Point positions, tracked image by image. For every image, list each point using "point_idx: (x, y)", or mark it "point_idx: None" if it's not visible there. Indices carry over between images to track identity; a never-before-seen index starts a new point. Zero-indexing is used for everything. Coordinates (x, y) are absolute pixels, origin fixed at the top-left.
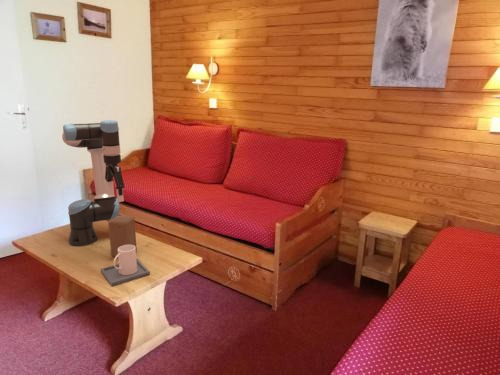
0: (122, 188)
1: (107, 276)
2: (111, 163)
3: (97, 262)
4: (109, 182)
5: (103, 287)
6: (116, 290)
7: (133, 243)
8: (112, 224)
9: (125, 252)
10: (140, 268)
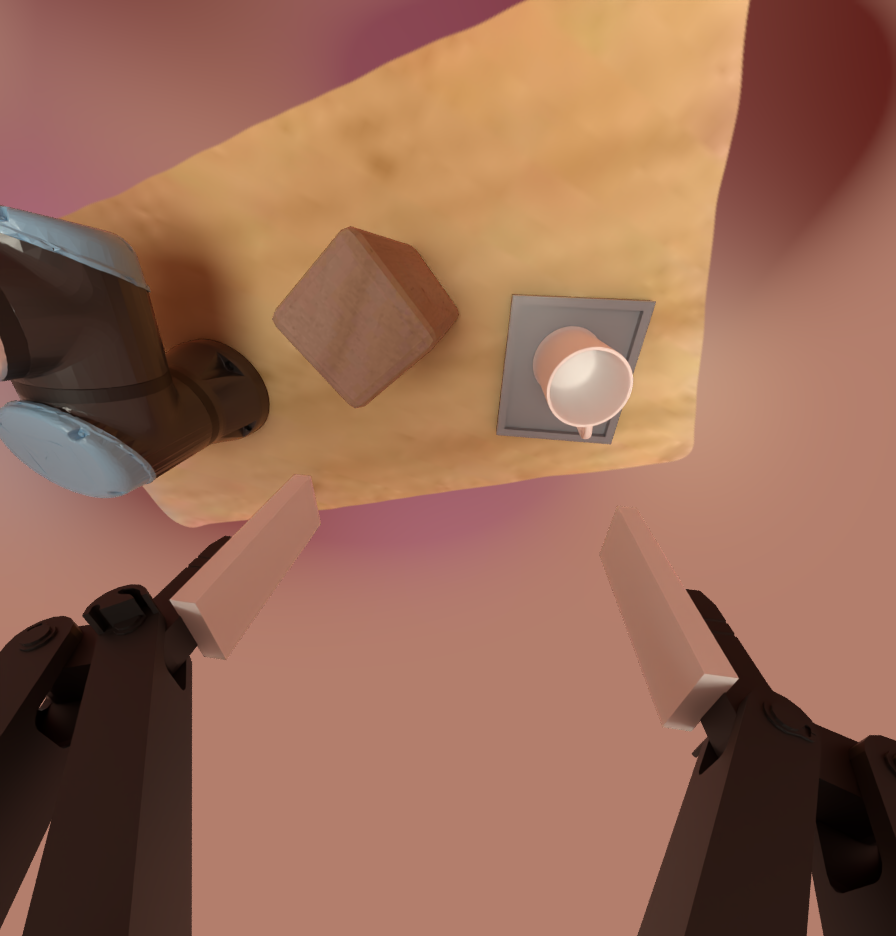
0: (731, 671)
1: (562, 437)
2: None
3: (422, 413)
4: (221, 634)
5: (591, 457)
6: (639, 437)
7: (421, 268)
8: (380, 392)
9: (620, 409)
10: (585, 314)
